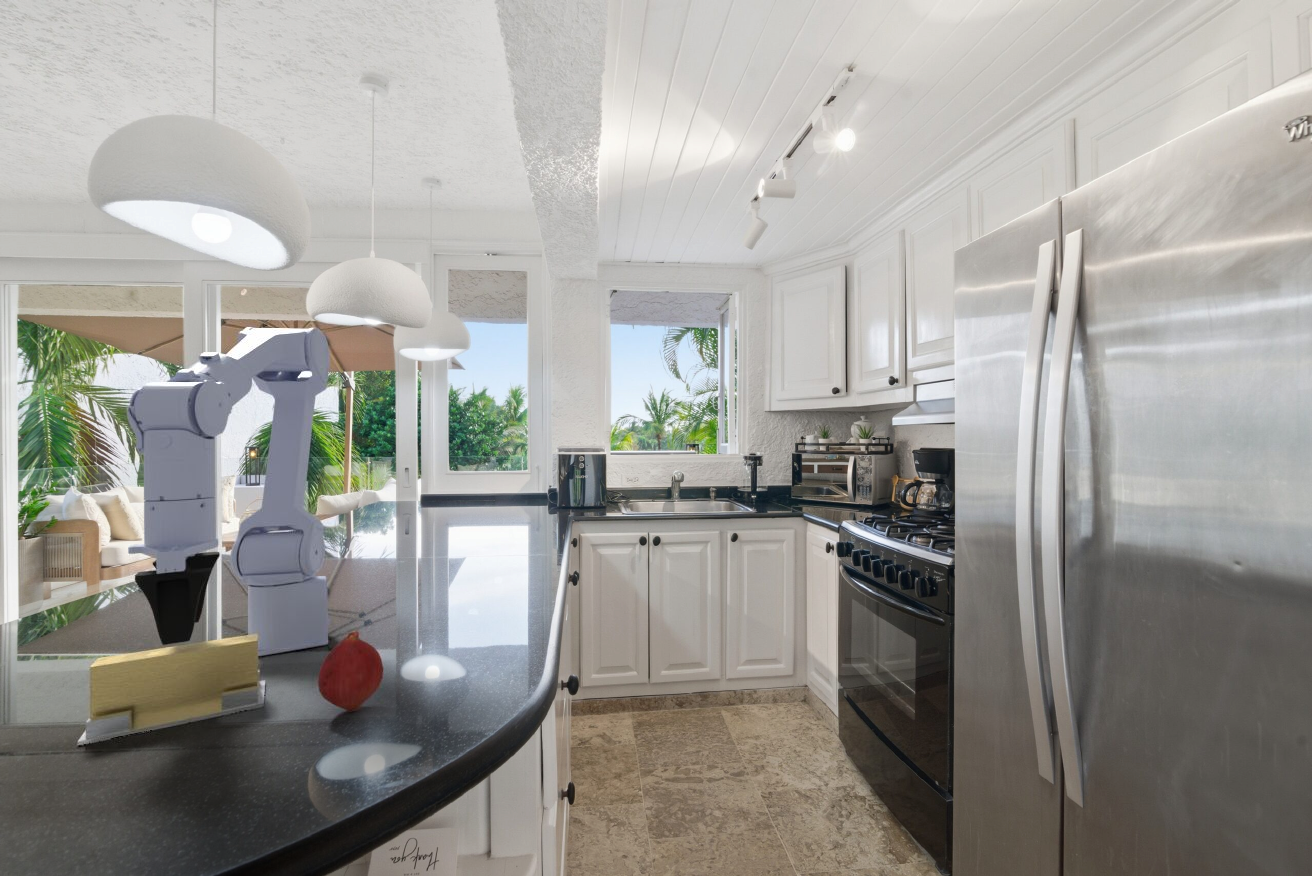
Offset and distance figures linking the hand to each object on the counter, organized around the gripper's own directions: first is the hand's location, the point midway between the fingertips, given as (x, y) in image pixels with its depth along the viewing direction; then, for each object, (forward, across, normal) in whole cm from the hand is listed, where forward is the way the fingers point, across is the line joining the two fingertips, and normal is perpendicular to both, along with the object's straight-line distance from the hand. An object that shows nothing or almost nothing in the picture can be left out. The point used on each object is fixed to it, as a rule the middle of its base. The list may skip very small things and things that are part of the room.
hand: (182, 632), depth 60 cm
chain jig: (+8, 0, 0) cm, 8 cm away
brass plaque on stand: (+8, 0, 0) cm, 8 cm away
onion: (+8, +10, +14) cm, 19 cm away
